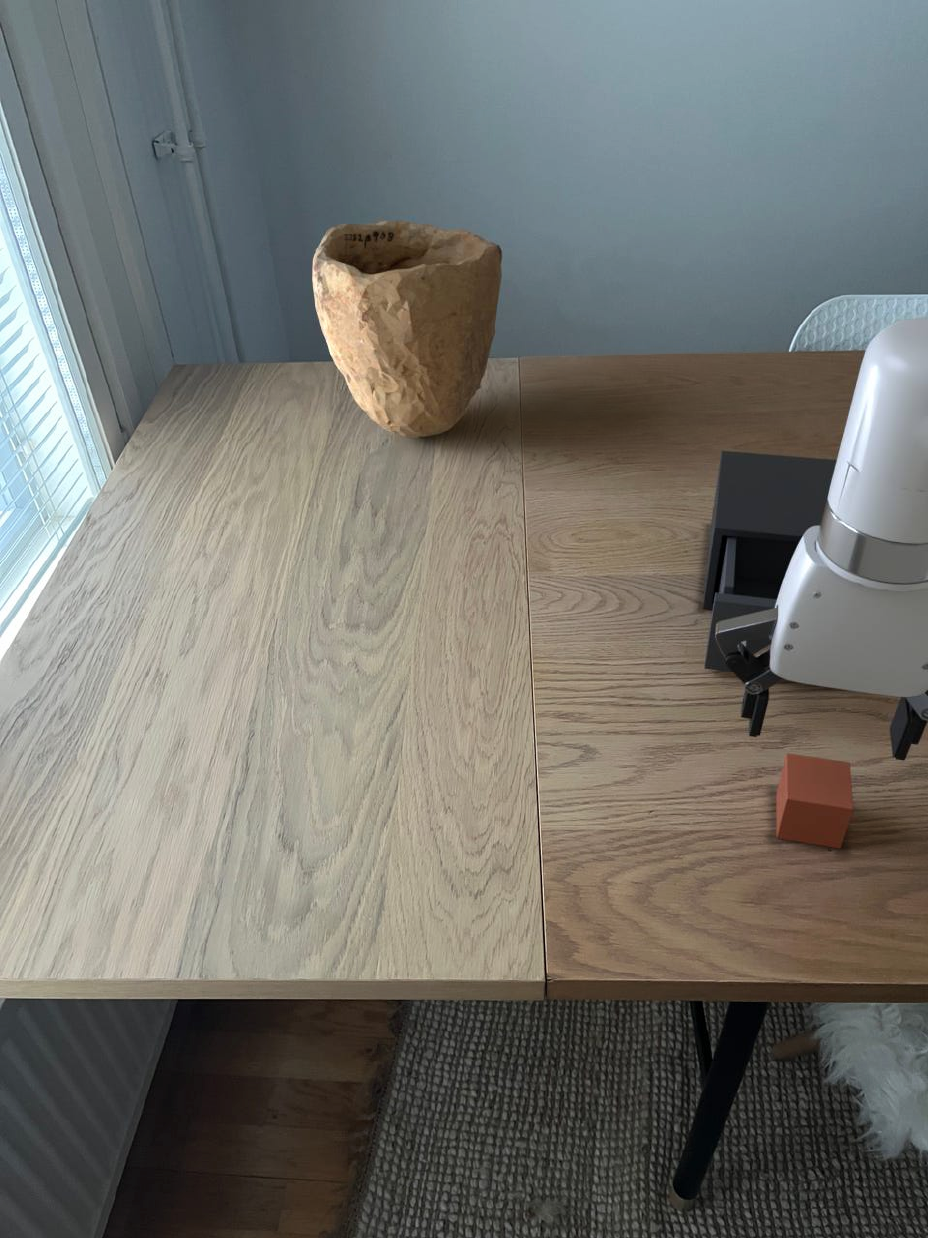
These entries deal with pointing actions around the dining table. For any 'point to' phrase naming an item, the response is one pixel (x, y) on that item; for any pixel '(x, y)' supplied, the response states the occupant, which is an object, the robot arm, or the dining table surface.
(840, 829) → the block
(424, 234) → the rough clay pot
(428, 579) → the dining table surface
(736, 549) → the dark grey drawer
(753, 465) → the drawer cabinet
